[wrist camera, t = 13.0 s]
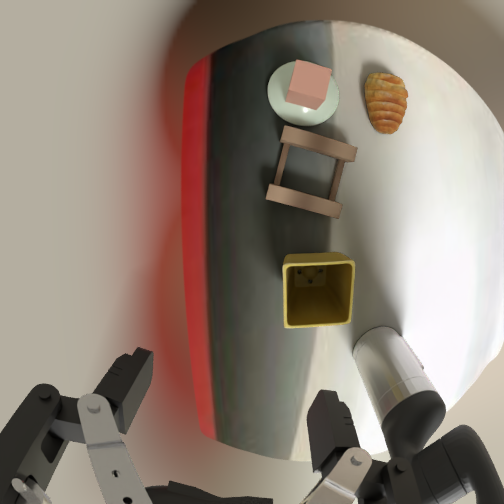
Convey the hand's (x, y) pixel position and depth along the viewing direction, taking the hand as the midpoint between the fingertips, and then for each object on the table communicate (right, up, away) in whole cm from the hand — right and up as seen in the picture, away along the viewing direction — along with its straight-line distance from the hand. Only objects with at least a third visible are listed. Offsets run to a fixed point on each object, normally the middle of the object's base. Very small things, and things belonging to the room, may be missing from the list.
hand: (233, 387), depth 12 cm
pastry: (+21, +29, +23) cm, 42 cm away
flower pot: (+9, +3, +30) cm, 32 cm away
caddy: (+9, +17, +26) cm, 32 cm away
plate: (+8, +28, +23) cm, 37 cm away
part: (+8, +28, +22) cm, 37 cm away
